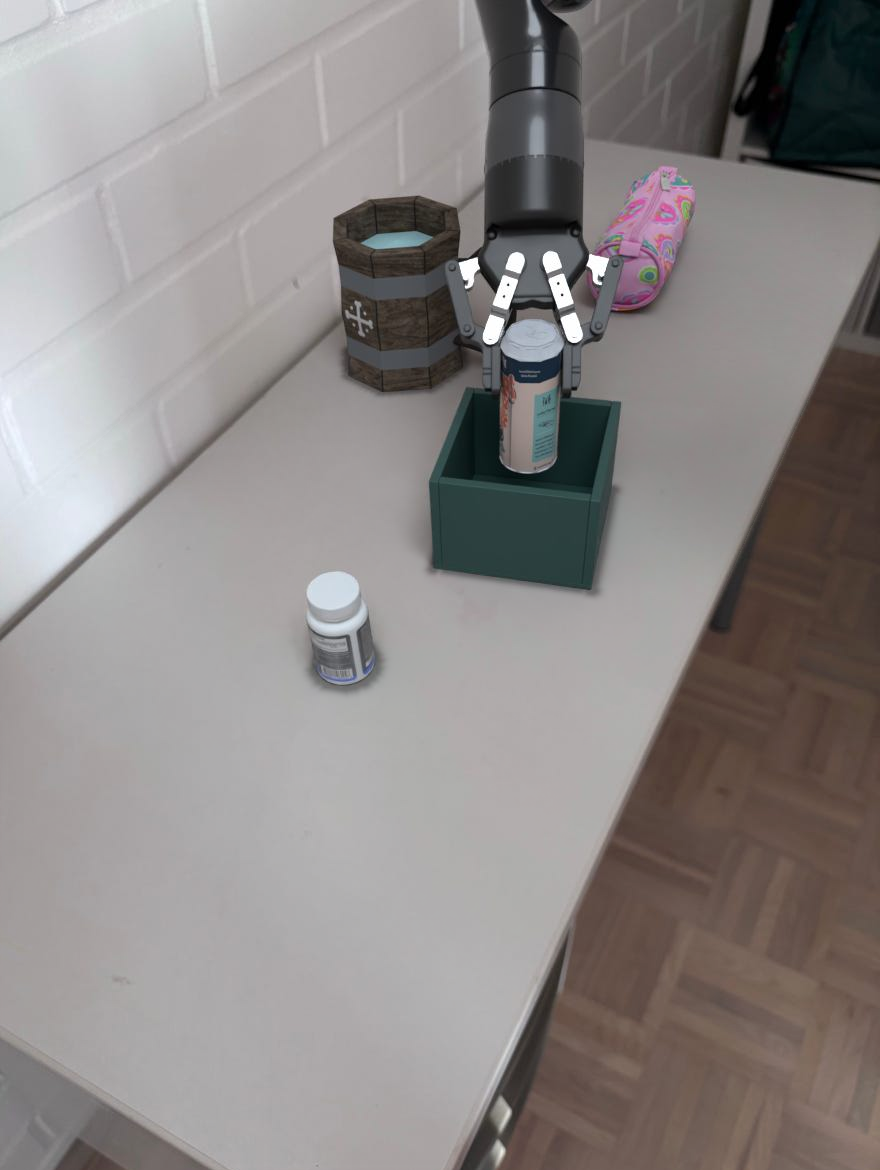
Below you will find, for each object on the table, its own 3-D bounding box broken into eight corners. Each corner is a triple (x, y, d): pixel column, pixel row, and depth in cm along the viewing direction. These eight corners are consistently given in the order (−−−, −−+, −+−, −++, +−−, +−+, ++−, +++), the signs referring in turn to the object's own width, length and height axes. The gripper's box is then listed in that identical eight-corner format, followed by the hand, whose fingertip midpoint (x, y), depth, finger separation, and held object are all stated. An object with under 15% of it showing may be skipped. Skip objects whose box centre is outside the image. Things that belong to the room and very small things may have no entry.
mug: (324, 382, 106) (305, 248, 95) (371, 319, 114) (358, 189, 103) (499, 410, 100) (500, 271, 89) (534, 342, 109) (540, 206, 98)
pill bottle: (353, 633, 80) (341, 558, 74) (386, 666, 78) (377, 591, 72) (304, 661, 79) (289, 586, 72) (337, 696, 76) (323, 621, 70)
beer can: (512, 438, 85) (514, 311, 76) (564, 450, 83) (573, 321, 74) (490, 471, 82) (490, 342, 73) (544, 484, 80) (551, 354, 72)
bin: (611, 488, 91) (621, 401, 84) (591, 589, 82) (600, 501, 75) (467, 472, 94) (466, 386, 87) (433, 568, 85) (428, 481, 78)
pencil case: (623, 229, 125) (631, 156, 119) (695, 237, 123) (707, 163, 116) (577, 311, 112) (583, 234, 106) (657, 323, 110) (667, 244, 103)
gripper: (437, 154, 72) (435, 388, 73) (635, 146, 70) (631, 385, 71) (443, 195, 79) (441, 407, 80) (622, 189, 78) (619, 405, 79)
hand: (531, 396), depth 76 cm, fingers closed on beer can, 4 cm apart
